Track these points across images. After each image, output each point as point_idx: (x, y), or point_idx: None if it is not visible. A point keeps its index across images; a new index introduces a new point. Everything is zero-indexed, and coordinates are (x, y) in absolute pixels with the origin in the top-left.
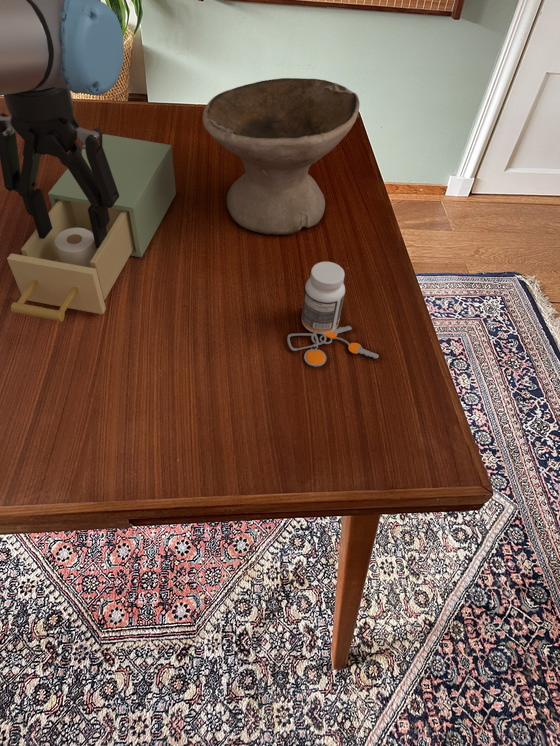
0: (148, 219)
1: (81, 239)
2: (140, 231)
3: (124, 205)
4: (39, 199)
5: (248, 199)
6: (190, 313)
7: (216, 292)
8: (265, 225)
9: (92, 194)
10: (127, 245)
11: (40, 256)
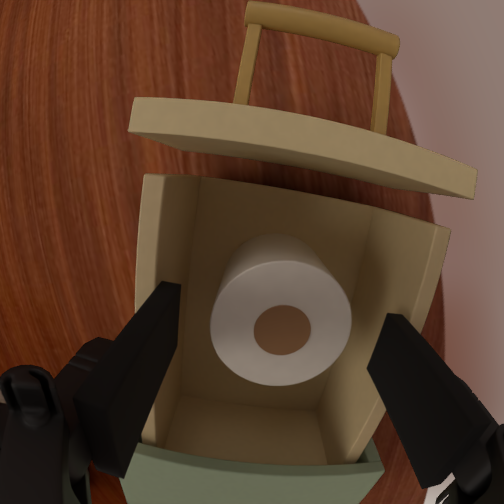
0: None
1: (255, 331)
2: None
3: (137, 456)
4: (430, 444)
5: None
6: (31, 186)
7: (9, 251)
8: (2, 397)
9: (3, 482)
10: None
11: (386, 269)
